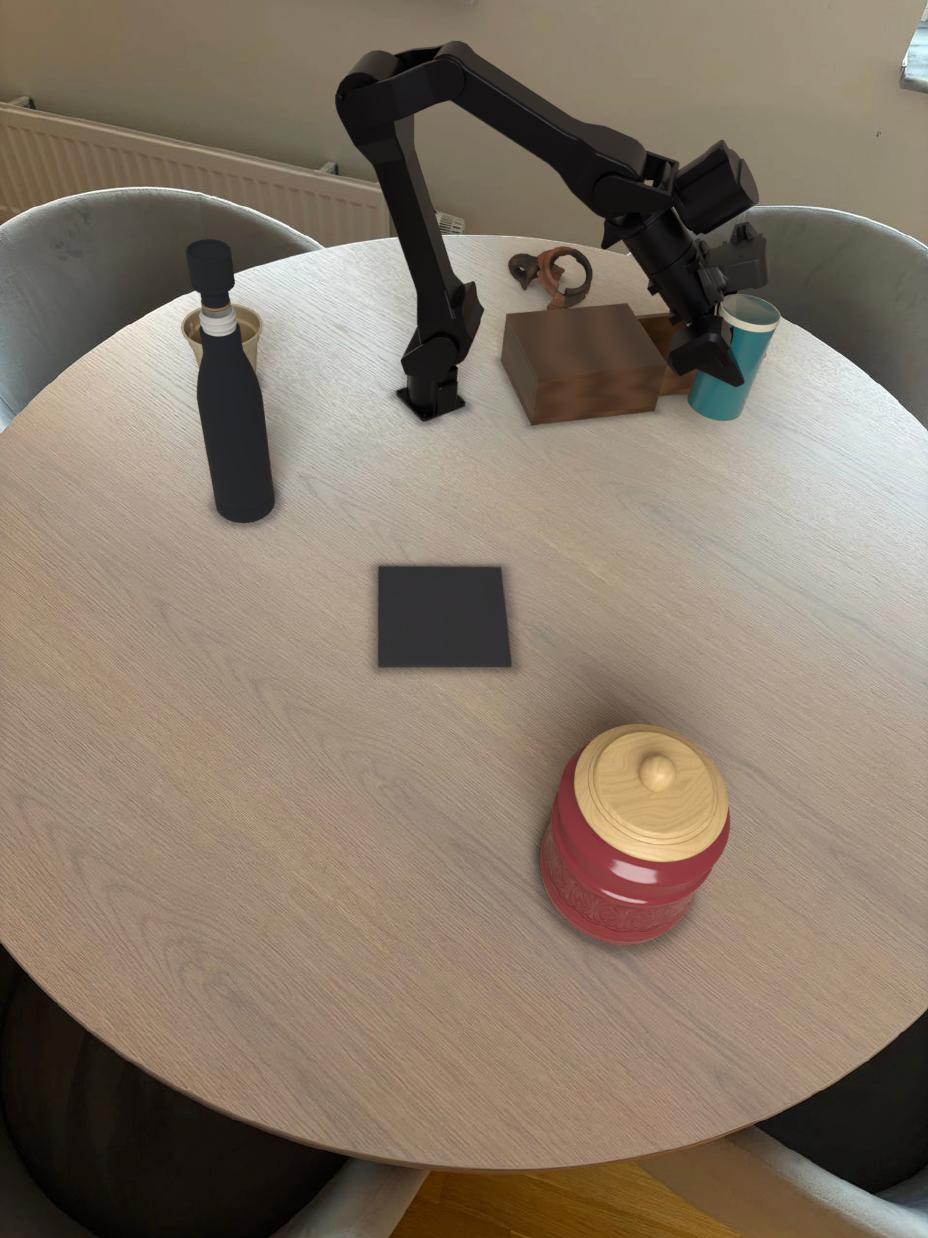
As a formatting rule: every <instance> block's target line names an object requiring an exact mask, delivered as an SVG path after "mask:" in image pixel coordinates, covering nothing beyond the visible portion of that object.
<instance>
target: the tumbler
mask: <svg viewBox="0 0 928 1238" xmlns="http://www.w3.org/2000/svg"><path fill="white" fill-rule="evenodd" d="M716 316H721V317H723V318H724V319H725V321H726V322H727V324H728V326H729V328H731V327H733V326H734V335H733V342H732V344H731V346H730V347H731V349H732V352H733V354H734V356H735V358H736V361H737V363H738V365H739V368H740V370H741V372H742V375H743V377H744V380H745V383H744V384H743V385H741V386H739V387H734V386H732V385H730V384H728V383H726V382H724V381H722V380H719V379H717V378H715V377H713V376H711V375H709V374H707V373H704V372H702V371H699V370H697V371H696V374H695V377H694V380H693V383H692V386H691V388H690V391H689V393H687V394H688V395H687V403H688V405H689V406H690V408H691V409H692V410H693V411H694V412H696V413H697V414H699V415H700V416H703V417H705V418H707V419H711V420H714V421H719V422H729V421H734V420H736V419H739V417H740V416H741V415H742V413H743V411H744V408H745V407H746V403H747V401H748V398H749V396H750V394H751V391H752V389H753V386H754V384H755V381H756V379H757V376H758V374H759V371H760V369H761V366H762V364H763V361H764V360H765V358H766V357H765V354H766V355H767V352H768V349H769V346H770V344H771V342H772V340H773V337H774V334H775V332H776V330H777V327H778V326H779V323H780V321H781V319H782V315H781V313H780V311H779V309H778V308H776V306H775V305H773V304H772V303H770V302H768V301H766V300H765V299H762V298H760V297H757V296H755V295H750V294H745V293H744V294H743V293H737V294H732V295H728V296H726V297H724V301H722V302H720V305H719V308H718V312H717V315H716ZM764 357H765V358H764Z"/></svg>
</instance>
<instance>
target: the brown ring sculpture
mask: <svg viewBox="0 0 928 1238" xmlns="http://www.w3.org/2000/svg"><path fill="white" fill-rule="evenodd" d="M566 256H570V257H572V258H573V259H574V260H575V261H576V262H577V263H578V264H580V265H581V266H582V267H583V269H584V272H585V278H584V282H583V283H582V284H581V285H580V286H578V287H565V290H564V293H563V292H561V291H559V288H560V287H559V286H560V283H559V282H558V281H560V279H561V278H562V275H563V274H564V273H565V268H563V267H561V266H559V265H558V264H556V263H555V262H556V261H557V260H559V258H560V257H566ZM507 267H508V271H509V274H510V275H511V277H512V278H513V279H514V280H515V281H517V282H518V283H519V284H520V286H521V288H522V290H523V291H527V290H528V286H529V285H530V284H531V283H532V282H533V281H534V280H536V279H539V282H540V284H541V285H542V286H543V287H544V289H545V291H546V293H547V294H548V295H549V296H550V297H551V300H550V303H548V305H546V310H555V309H566V308H573V307H575V306H576V305H578V304H580V303H581V302H582V301H584V300H585V299H586V295H588V294H589V293H590V290H591V287H592V286H591V285H592V281H593V278H594V277H593V276H594V273H593V272H594V271H593V268H592V265H591V262H590V260H589V259H588V257H587V256H586V255H585V254H584V253H583V252H581V251H580V250H578V249H576V248H573V247H570V246H566V245H565V246H557V247H554V248H551V249H548V250H544V251H542V252H541V253H540V254H538V255H536V256H535V255H531V254H529V253H524V252H523V253H520V252H519V253H516V254H514V255H513V256H511V257H510V259H508V262H507ZM522 269H523V270H522Z"/></svg>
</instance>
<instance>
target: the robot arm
mask: <svg viewBox="0 0 928 1238" xmlns="http://www.w3.org/2000/svg"><path fill="white" fill-rule="evenodd" d="M446 102H451V103H452V104H454V105H456V106H458V107H459V108H461V109H462V110H464V111H465V112H467V113H468V114H469V115H471V116H472V117H475V118H476V119H477V120H479V121H480V122H482V123H484V124H485V125H487V126H489V127H490V128H492V129H493V130H495V131H496V132H498V133H500V135H502V136H504V137H505V138H507V139H509V140H510V141H512V142H513V143H515V144H516V145H518V146H520V147H521V148H522V149H524V150H526V151H527V152H529V153H530V154H532V155H534V156H535V157H536V158H538V159H539V160H541V161H543V162H544V163H545V164H547V165H549V166H550V167H551V168H552V169H553V170H554V171H555V172H556V173H557V174H558V175H559V177H560V178H561V180H562V181H563V182H564V184H565V185H566V187H567V188H568V190H569V192H570V193H571V194H572V195H574V196H575V198H576V199H578V200H579V201H580V202H581V203H582V204H584V205H585V207H587V208H588V209H589V210H590V212H592V213H593V214H595V216H597V217H600V218H603V219H604V221H603V235H602V236H603V237H602V240H601V243H600V248H601V250H605V251H606V250H609V248H611V247H612V246H615V245H616V244H617V243H620V242H621V241H622V242H623V244H624V245H625V246H626V248H627V249H628V251H629V253H630V254H631V255H632V257H633V258H634V260H635V261H636V263H637V265H638V266H639V267H640V268H641V270H642V272H643V273H644V274H645V276H646V277H647V279H648V283H647V287H646V289H647V291H648V292H649V294H650V295H651V297H653V296H656V295H659V296H660V298H661V299H662V300H663V302H664V304H665V306H666V307H667V308H668V309H669V311H668V313H669V316H668V320H669V321H670V323H671V324H672V325H673V326H674V325H676V324H678V323H679V322H681V321H683V320H684V321H685V322H686V325H687V326H688V327H686V328H684V329H682V330H680V331H678V332H677V333H675V334H673V336H672V339H671V343H670V347H669V352H668V358H667V364H668V366H669V367H670V368H671V370H672V371H673V373H674V374H675V375H676V376H679V377H681V376H683V375H685V374H687V373H689V372H690V371H692V370H694V369H696V370H699V371H702V372H704V373H707V374H709V375H711V376H713V377H715V378H717V379H719V380H722V381H724V382H726V383H728V384H730V385H732V386H734V387H739V386H741V385H743V384H744V383H745V380H744V377H743V375H742V372H741V370H740V368H739V365H738V363H737V361H736V358H735V356H734V354H733V352H732V349H731V347H730V346H731V344H732V342H733V335H734V326H733V327H731V328H729V326H728V324H727V322H726V321H725V319H724V318H723V317H721V316H716V315H717V312H718V308H719V305H720V302H722V301H724V297H726V296H728V295H732V294H738V291H743V290H748V289H753V290H757V289H758V290H759V289H761V288H764V287H765V286H767V285H768V284H769V282H770V269H771V265H770V264H771V263H770V256H769V251H768V250H769V249H768V240H767V237H765V236H764V233H763V232H759V233H758V232H757V230H756V229H755V227H754V226H753V225H752V224H751V223H750V221H743V222H740V223H736V224H734V226H733V230H732V232H731V235H730V237H729V242H728V240H724V241H722V243H721V244H722V245H719V246H717V247H713V248H711V247H710V246H709V244H708V243H707V242H706V240H705V239H701V237H697V238H696V239H694V238H693V237H692V235H691V234H690V232H692V233H693V234H694V235H695V236H699V235H700V234H702V235H708V234H710V233H711V232H713V231H715V230H717V229H718V228H719V227H721V226H723V225H724V224H727V223H729V221H731V220H733V219H735V218H736V217H738V216H740V215H741V214H743V213H745V212H746V211H748V210H750V209H751V208H753V207H755V206H757V205H758V204H759V202H760V194H759V190H758V185H757V182H756V180H755V178H754V175H753V173H752V172H751V169H750V167H749V165H748V164H747V162H746V160H745V158H741V157H740V156H739V154H738V153H737V152H736V151H735V150H734V149H732V148H730V147H729V146H728V144H727V143H726V141H725V139H720V140H718V141H717V142H715V143H714V144H712V145H710V147H708V149H707V150H705V152H704V153H703V154H701V155H699V156H698V157H696V158H695V159H693V160H692V161H690V162H688V163H687V164H686V165H684V166H683V167H681V168H680V166H681V163H680V162H679V161H678V160H676V159H672V158H670V157H668V156H665V155H661V154H658V153H655V152H652V151H649V150H646V149H645V147H644V144H642V143H641V142H640V141H638V139H636V138H634V137H632V136H630V135H627V134H625V133H623V132H621V131H618V130H615V129H613V128H611V127H609V126H606V125H601V124H595V123H589V122H584V121H582V120H579V119H577V118H575V117H573V116H571V115H570V114H568V113H566V112H565V111H564V110H562V109H560V108H559V107H558V106H556V105H554V104H553V103H552V102H550V101H548V100H547V99H545V98H544V97H542V95H539V94H538V93H537V92H535V91H534V90H532V89H530V88H529V87H528V86H526V85H525V84H523V83H521V81H518V80H517V79H515V78H514V77H513V76H511V75H509V74H508V73H506V72H505V71H503V70H502V69H501V68H499V67H497V66H495V64H493V63H492V62H490V61H488V60H487V59H485V58H484V57H482V56H481V55H479V54H477V53H476V52H475V51H474V49H473V48H472V47H471V46H470V45H469V44H468V43H466V42H463V41H461V40H450V41H448V42H446V43H442V44H439V45H436V46H435V45H434V46H424V47H414V48H410V49H407V50H403V51H400V52H396V53H393V54H392V53H390V52H389V51H385V50H381V49H377V50H371V51H368V52H367V53H365V54H363V56H362V57H360V59H359V60H357V62H356V63H355V64H354V65H353V67H352V68H351V69H350V70H349V72H347V74H346V75H345V77H344V78H343V79H341V81H340V82H339V84H338V87H337V90H336V91H335V94H334V105H335V111H336V113H337V116H338V118H339V119H340V121H341V124H342V126H343V127H344V130H345V132H346V133H347V135H348V137H349V138H350V141H351V142H352V144H353V146H354V147H355V148H356V150H357V151H359V153H360V154H361V155H362V156H363V157H364V159H366V160H367V161H368V162H369V163H370V165H371V166H372V168H373V169H374V173H375V175H376V178H377V181H378V184H379V187H380V190H381V192H382V195H383V198H384V201H385V204H386V207H387V210H388V213H389V216H390V218H391V221H392V224H393V225H392V226H393V227H394V230H395V234H396V236H397V240H398V242H399V245H400V248H401V250H402V254H403V256H404V259H405V263H406V265H407V268H408V271H409V275H410V276H411V280H412V283H413V286H414V289H415V292H416V328H415V330H414V331H413V334H412V336H411V338H410V339H409V342H408V345H407V347H406V348H405V351H404V353H403V354H402V357H401V358H400V364H401V367H402V369H403V373H404V375H405V376H406V387H403V388H400V389H398V390H396V397H397V398H398V399H399V400H400V401H401V402H402V403H403V404H404V405H405V406H406V408H408V409H409V410H410V411H411V412H412V413H413V414H414V415H415V416H416V417H417V418H418V419H419V420H420V421H421V422H428V421H431V420H433V419H436V418H438V417H441V416H443V415H447V414H449V413H451V412H454V411H457V410H459V409H463V408H465V406H466V401H465V399H463V398H462V397H461V396H460V395H459V394H458V387H459V382H458V375H459V367H458V366H457V365H460V364H461V363H463V362H464V361H465V360H466V358H467V357H468V356H469V353H470V350H471V348H472V346H473V343H474V341H475V338H476V336H477V333H478V331H479V329H480V326H481V322H482V317H483V314H484V312H485V307H484V306H483V305H482V304H481V302H480V300H479V297H478V290H477V284H476V281H474V280H471V281H469V282H466V283H464V282H463V281H461V279H460V278H459V277H458V276H457V275H456V274H455V272H454V270H453V267H452V263H451V260H450V257H449V254H448V251H447V248H446V245H445V241H444V238H443V234H442V232H441V228H440V224H439V222H438V218H437V215H436V212H435V208H434V205H433V203H432V199H431V195H430V193H429V190H428V186H427V183H426V179H425V176H424V173H423V170H422V167H421V164H420V160H419V158H418V153H417V151H416V146H415V145H416V144H415V114H418V113H419V112H422V111H424V110H426V109H429V108H431V107H433V106H435V105H438V104H441V103H446ZM646 181H652V184H651V185H649V184H646Z"/></svg>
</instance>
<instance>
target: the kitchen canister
mask: <svg viewBox="0 0 928 1238" xmlns="http://www.w3.org/2000/svg"><path fill="white" fill-rule="evenodd" d="M550 814H551V816H550V821H549V823H548V825H547V827H546V830H545V832H544V834H543V837H542V841H541V845H540V850H539V851H540V852H539V866H540V874H541V878H542V879H541V880H542V883H543V886H544V890H545V893H546V895H547V897H548V899H549V901H550V902H551V904H552V906H553V907H554V909H555V910H556V911H557V913H558V914H559V915H560V916H561V917H562V919H563V920H564V921H565V922H567V924H568V925H570V926H571V927H572V928H573V929H575V930H576V931H578V932H579V933H581V934H583V935H585V936H587V937H588V938H591V939H592V940H596V941H599V942H601V943H602V942H603V943H606V944H611V945H620V946H632V945H637V944H642V943H646V942H650V941H651V940H654V939H655V938H659V937H660V936H661V935H663V934H665V933H667V932H668V931H669V930H671V929H672V928H673V927H675V926H676V925H677V924H678V923H679V922H680V921H681V919H682V918H683V917H684V916H685V914H686V912H687V911H688V910H689V908H690V906H691V905H692V903H693V901H694V898H695V896H696V892H697V890H698V889H699V888H700V887H701V886H702V885H703V884H704V883H705V881H706V880H707V879H708V877H709V876H710V874H711V873H712V871H713V868H714V866H715V865H716V863H717V862H718V861H719V859H720V858H721V856H722V855H723V853H724V851H725V849H726V847H727V844H728V842H729V838H730V832H731V811H730V807H729V797H728V790H727V786H726V783H725V781H724V778H723V775H722V773H721V771H720V770H719V768H718V767H717V764H716V763H715V762H714V761H713V759H712V758H711V757H710V756H709V755H708V753H707V752H706V751H704V749H702V748H701V747H700V746H699V745H698V744H697V743H695V742H694V741H693V740H691V739H689V738H688V737H686V736H684V735H683V734H681V733H678V732H676V731H674V730H671V729H669V728H666V727H664V726H658V725H654V724H647V723H646V724H645V723H632V724H624V725H619V726H616V727H613V728H611V729H607V730H606V731H603V732H602V733H600V734H599V735H597V736H596V737H594V738H593V739H592V740H591V741H589V742H588V743H586V744H585V745H583V746H581V748H579V749H578V750H577V751H576V752H575V753H574V754H573V755H572V756H571V758H570V759H569V760H568V762H567V763H566V765H565V767H564V769H563V771H562V773H561V776H560V779H559V784H558V789H557V791H556V794H555V796H554V799H553V802H552V807H551V813H550Z"/></svg>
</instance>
